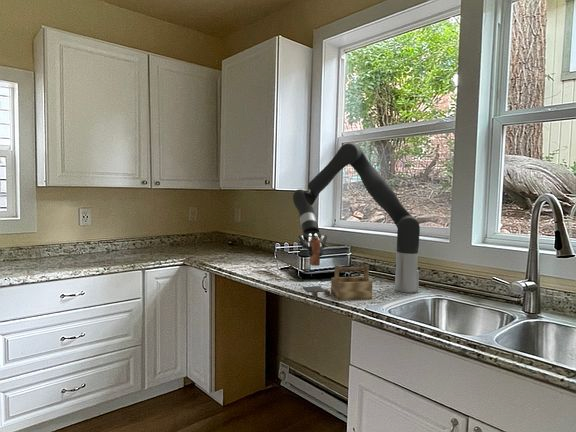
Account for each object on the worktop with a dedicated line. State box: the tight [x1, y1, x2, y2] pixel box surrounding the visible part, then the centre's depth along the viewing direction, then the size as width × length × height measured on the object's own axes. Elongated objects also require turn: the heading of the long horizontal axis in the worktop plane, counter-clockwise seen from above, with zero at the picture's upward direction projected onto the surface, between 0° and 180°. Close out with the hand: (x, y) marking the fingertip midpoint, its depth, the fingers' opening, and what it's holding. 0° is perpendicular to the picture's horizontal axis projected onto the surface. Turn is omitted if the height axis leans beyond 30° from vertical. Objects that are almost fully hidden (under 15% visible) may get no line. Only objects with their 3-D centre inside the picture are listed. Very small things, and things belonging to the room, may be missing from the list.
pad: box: [302, 285, 325, 293], centre depth 175 cm, size 8×8×1 cm
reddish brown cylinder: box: [309, 237, 321, 267], centre depth 174 cm, size 4×4×12 cm
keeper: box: [311, 288, 331, 298], centre depth 165 cm, size 7×4×2 cm, turn 103°
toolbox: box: [330, 264, 373, 301], centre depth 164 cm, size 14×10×13 cm
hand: (316, 255), depth 172 cm, fingers closed on reddish brown cylinder, 3 cm apart
